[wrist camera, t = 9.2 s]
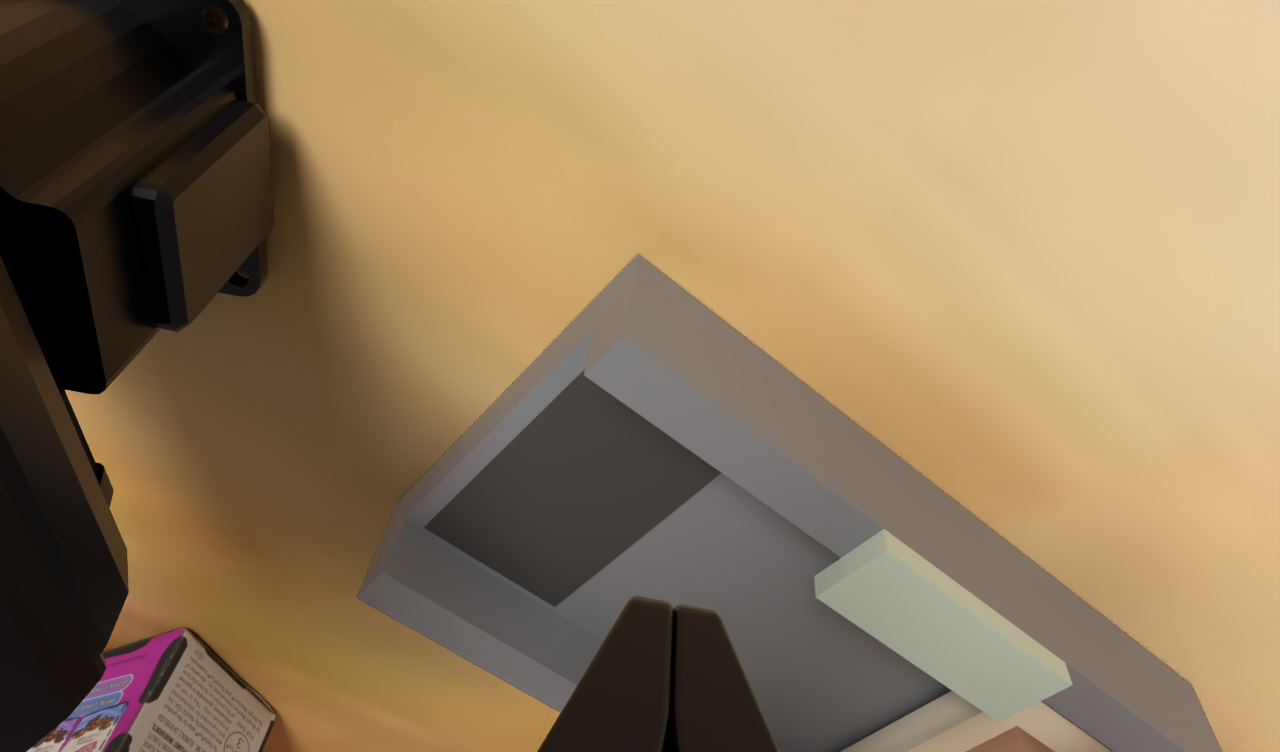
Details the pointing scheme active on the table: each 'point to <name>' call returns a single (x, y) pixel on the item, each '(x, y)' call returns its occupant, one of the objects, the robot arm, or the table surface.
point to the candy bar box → (165, 704)
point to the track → (743, 545)
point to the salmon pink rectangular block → (979, 731)
